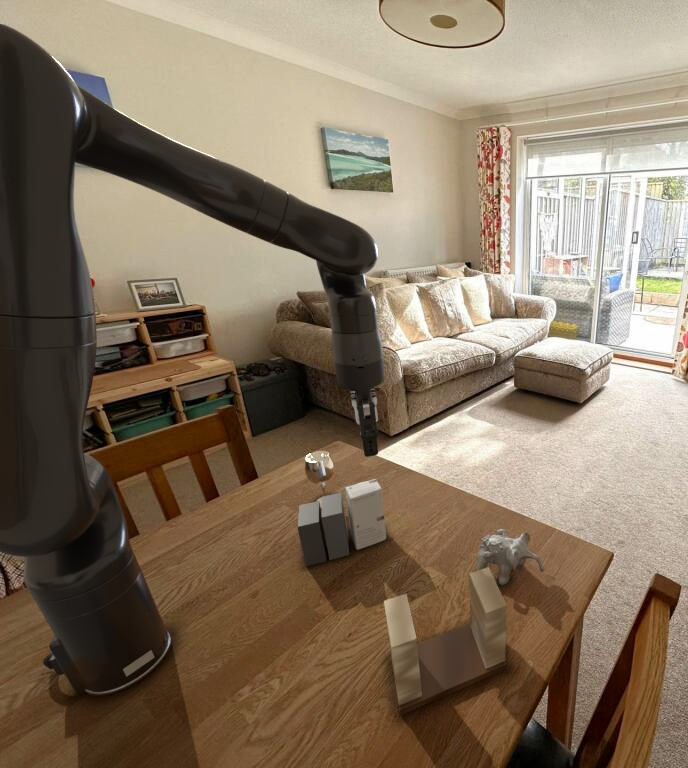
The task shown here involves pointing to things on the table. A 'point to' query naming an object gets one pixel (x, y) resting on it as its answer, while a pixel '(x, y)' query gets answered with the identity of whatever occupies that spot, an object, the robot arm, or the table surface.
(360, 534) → the cosmetic box
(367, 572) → the table surface
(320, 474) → the wineglass
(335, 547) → the grey books
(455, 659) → the book board
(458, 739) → the table surface
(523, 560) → the gray elephant figurine
